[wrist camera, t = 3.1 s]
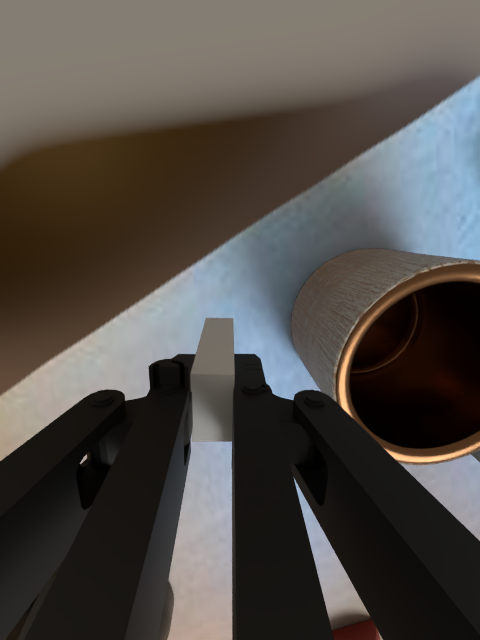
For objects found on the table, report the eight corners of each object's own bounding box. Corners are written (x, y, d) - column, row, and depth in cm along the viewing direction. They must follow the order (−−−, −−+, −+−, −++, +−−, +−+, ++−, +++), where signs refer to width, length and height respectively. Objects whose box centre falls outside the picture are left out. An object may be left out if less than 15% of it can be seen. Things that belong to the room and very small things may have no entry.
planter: (395, 218, 21) (528, 206, 12) (443, 340, 24) (579, 406, 15) (263, 294, 22) (290, 338, 13) (324, 401, 25) (381, 499, 16)
